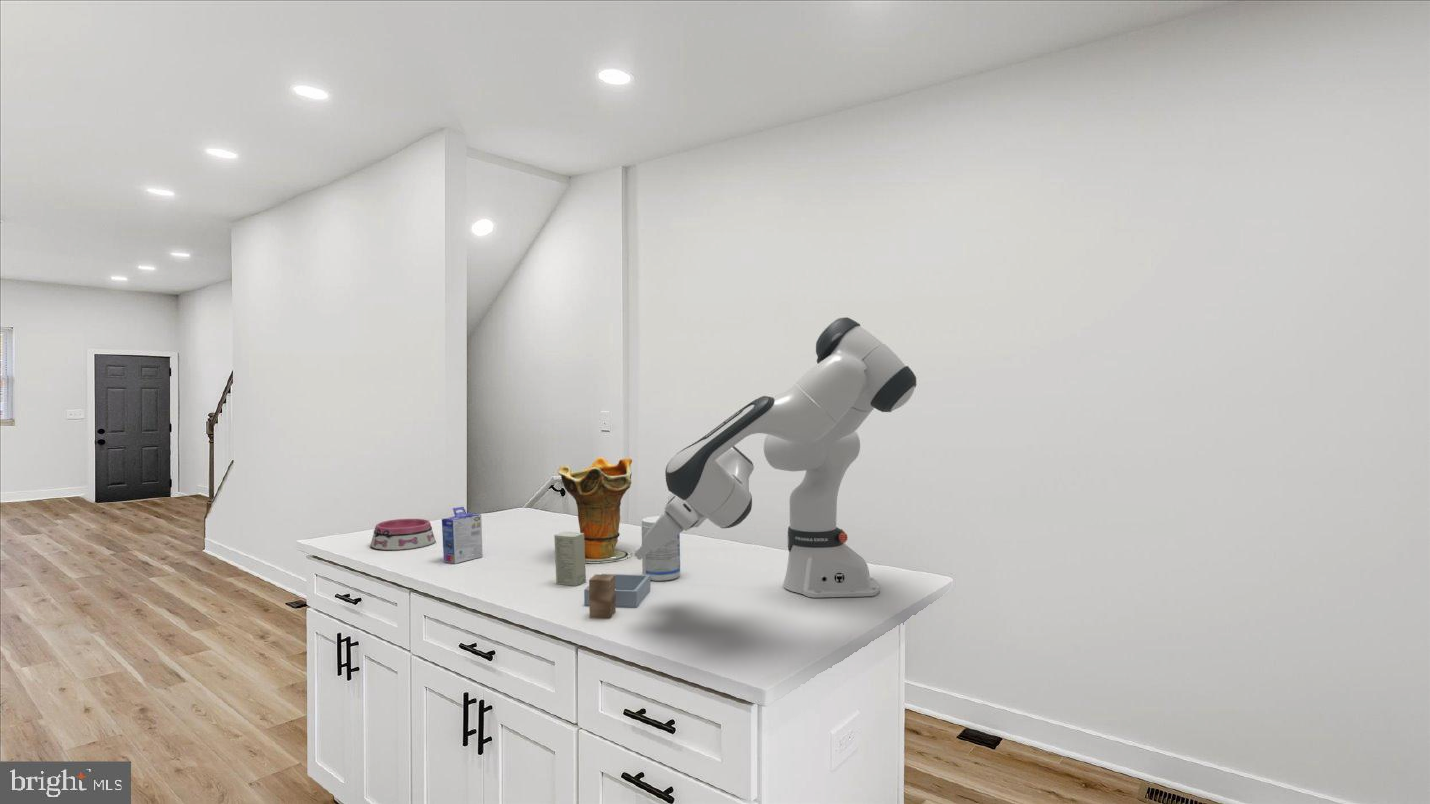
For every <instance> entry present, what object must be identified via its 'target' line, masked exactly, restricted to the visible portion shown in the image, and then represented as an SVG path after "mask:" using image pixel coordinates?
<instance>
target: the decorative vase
mask: <svg viewBox="0 0 1430 804" xmlns="http://www.w3.org/2000/svg"><path fill="white" fill-rule="evenodd" d="M632 462H633V459H632V458H621V459H619V461H618V463H617V464H615V465H613V464H611V463H610V462H609V461H607V459H606V458H604V457H602V456H601V457H598V458H596V459H595V460H594V461H593V463H592V464H591V466H590V467H589V466H588V467H587V468H585V469H580V470H573V471H572V470H571V467H570V466H569V465H563V466H560V467H559V468H558V470H557V474H558V475H560V477H561V481H562V484H563V487H564V490H566V492H567V493H568V494H569V495H570V496H571V497H572V498H573V499H574V500H575V503H576V504H575V505H576V507H577V519H578V526H579V533H584V544H585V564H587V563H588V564H590V563H591V564H599V563H611V562H612V563H613V562H618V561H623V560H626V559H628V558H630V557H632V554H631V552H628V551H626V550H621V549H616V546H617V544H618V543H619V540H618V538H619V537H620V532H619V529H620V522H621V503H622V499H623V497H624V495H625V494H626V493H627V491H628V490H629V489H630V488H631V485H632V474H633V472H632V470H631V466H632V465H631V464H632ZM611 557H616V558H611ZM627 557H628V558H627Z"/></svg>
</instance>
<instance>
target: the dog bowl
mask: <svg viewBox="0 0 1430 804" xmlns="http://www.w3.org/2000/svg"><path fill="white" fill-rule="evenodd" d="M433 531H434V530H433V527H432V524H431V521H430V520H428V519H424V518H423V519H422V518H397V519H391V520H390V519H389V520H385V521H381V522H378V523H377V524H376V525H375V527H374V530H373V535H372V538H371V542H370V549H371V550H374V551H380V552H400V551H411V550H412V551H413V550H418V549H422V548H423V549H424V548H427V547H431V546H433V545H435V544H436V543H437V542H436V537H435V535H434V534H435V533H434V532H433Z"/></svg>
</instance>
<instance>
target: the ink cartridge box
mask: <svg viewBox="0 0 1430 804" xmlns="http://www.w3.org/2000/svg"><path fill="white" fill-rule="evenodd" d="M452 511H453V514H454V516H449V517H445V518H441V531H442V549H443V550H442V551H443V552H442V554H443V555H442V556H443V562H444V563H448V564H453V565H454V564H455V565H456V564H459V563H463V562H467V561H471V560H474V559H478V558H483V556H484V554H483V553H484V552H483V529H482V528H483V527H482V514H481V513H474V512H469V513H468V512H466V509H465V508H464V506H460V507H459V506H458V507H453V508H452ZM457 511H460V512H457Z"/></svg>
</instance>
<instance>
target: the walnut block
mask: <svg viewBox="0 0 1430 804" xmlns="http://www.w3.org/2000/svg"><path fill="white" fill-rule="evenodd" d="M588 586H589V606H588V608H589V618H590V619H606V620H607V619H609V620H610V619H611V618H612V617H613V616H614V615H615V613H616V611H617V610H616V608H617V607H616V598H615V575H601V574H600V573H599V574H594V575H593V576H592V577H590V579H589V580H588ZM612 615H613V616H612Z"/></svg>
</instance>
